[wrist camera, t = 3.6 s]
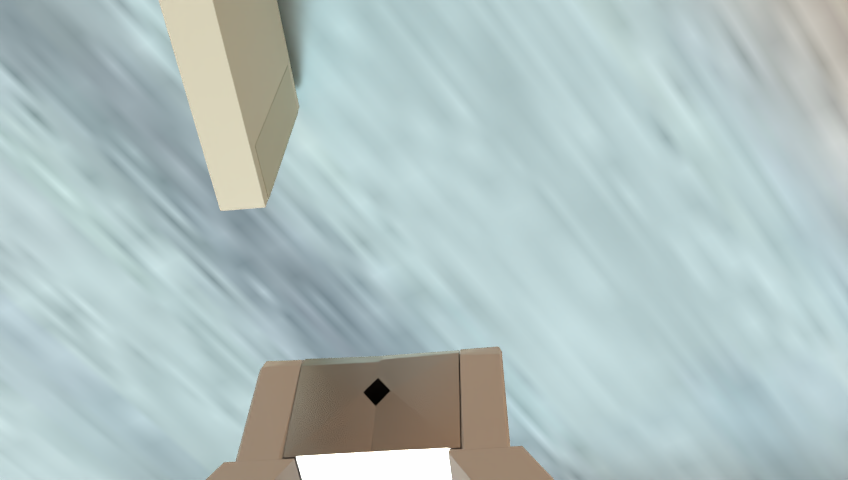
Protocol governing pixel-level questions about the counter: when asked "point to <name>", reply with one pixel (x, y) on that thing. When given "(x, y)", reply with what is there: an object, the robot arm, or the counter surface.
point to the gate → (236, 91)
